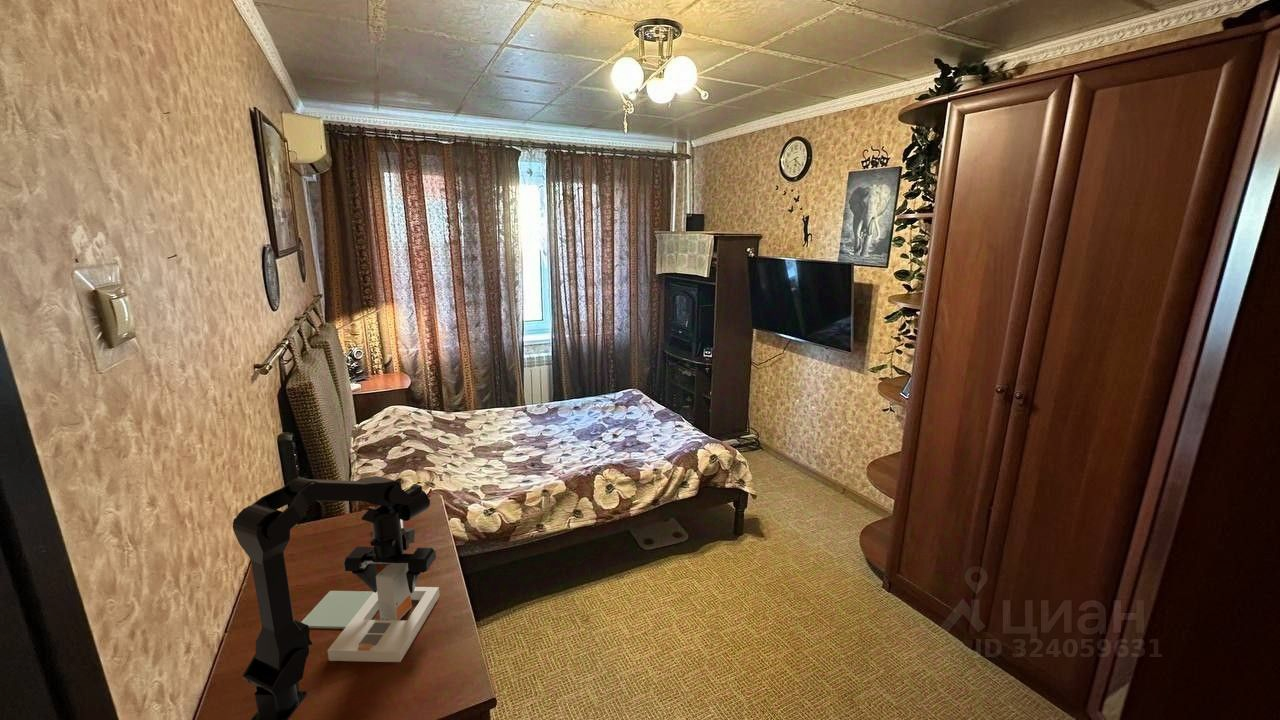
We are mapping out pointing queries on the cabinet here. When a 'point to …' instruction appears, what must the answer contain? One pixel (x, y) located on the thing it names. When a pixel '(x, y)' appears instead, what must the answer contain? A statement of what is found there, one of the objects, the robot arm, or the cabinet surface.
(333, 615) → the mat
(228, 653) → the cabinet surface
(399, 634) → the cream rectangular frame
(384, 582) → the skincare box
